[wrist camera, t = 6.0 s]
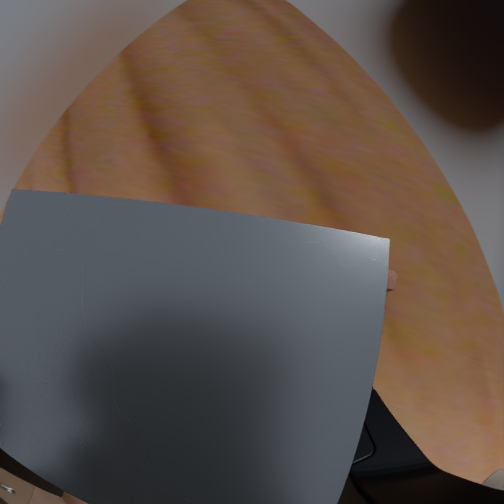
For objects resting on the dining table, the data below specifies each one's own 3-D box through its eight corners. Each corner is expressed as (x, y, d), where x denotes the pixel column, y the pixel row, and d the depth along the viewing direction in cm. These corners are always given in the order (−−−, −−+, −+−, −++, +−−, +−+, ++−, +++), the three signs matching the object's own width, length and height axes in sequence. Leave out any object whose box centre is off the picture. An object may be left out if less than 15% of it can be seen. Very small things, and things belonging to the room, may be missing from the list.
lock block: (266, 374, 14) (317, 547, 2) (174, 356, 14) (-10, 439, 2) (278, 300, 15) (389, 239, 3) (186, 284, 15) (11, 189, 3)
